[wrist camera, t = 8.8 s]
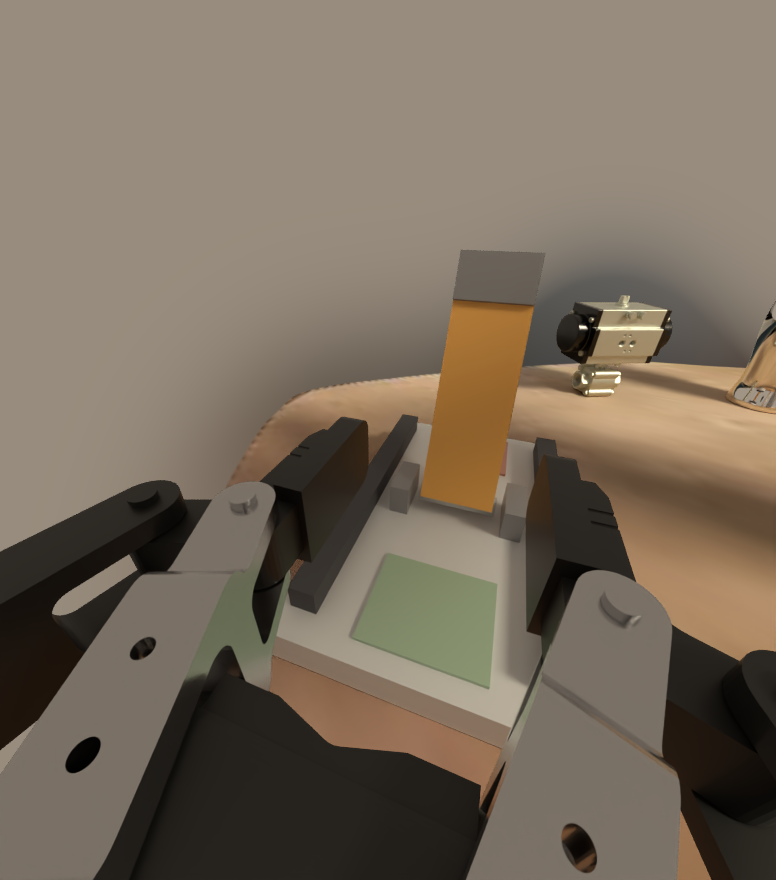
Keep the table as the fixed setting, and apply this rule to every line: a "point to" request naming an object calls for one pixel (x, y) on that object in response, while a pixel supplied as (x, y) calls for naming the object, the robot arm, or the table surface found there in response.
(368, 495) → the dark grey mounting rails
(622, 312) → the pneumatic valve
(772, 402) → the beer glass
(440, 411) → the lever
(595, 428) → the table surface
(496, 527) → the breaker panel
